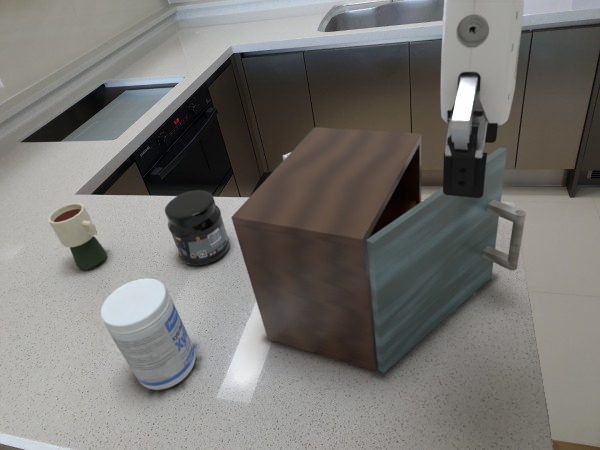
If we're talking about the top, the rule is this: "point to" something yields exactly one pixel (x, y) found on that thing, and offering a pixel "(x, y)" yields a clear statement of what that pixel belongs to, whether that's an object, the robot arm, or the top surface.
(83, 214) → the character mug
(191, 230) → the supplement container
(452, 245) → the cupboard door
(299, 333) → the cupboard
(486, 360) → the top surface
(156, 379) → the supplement tub
